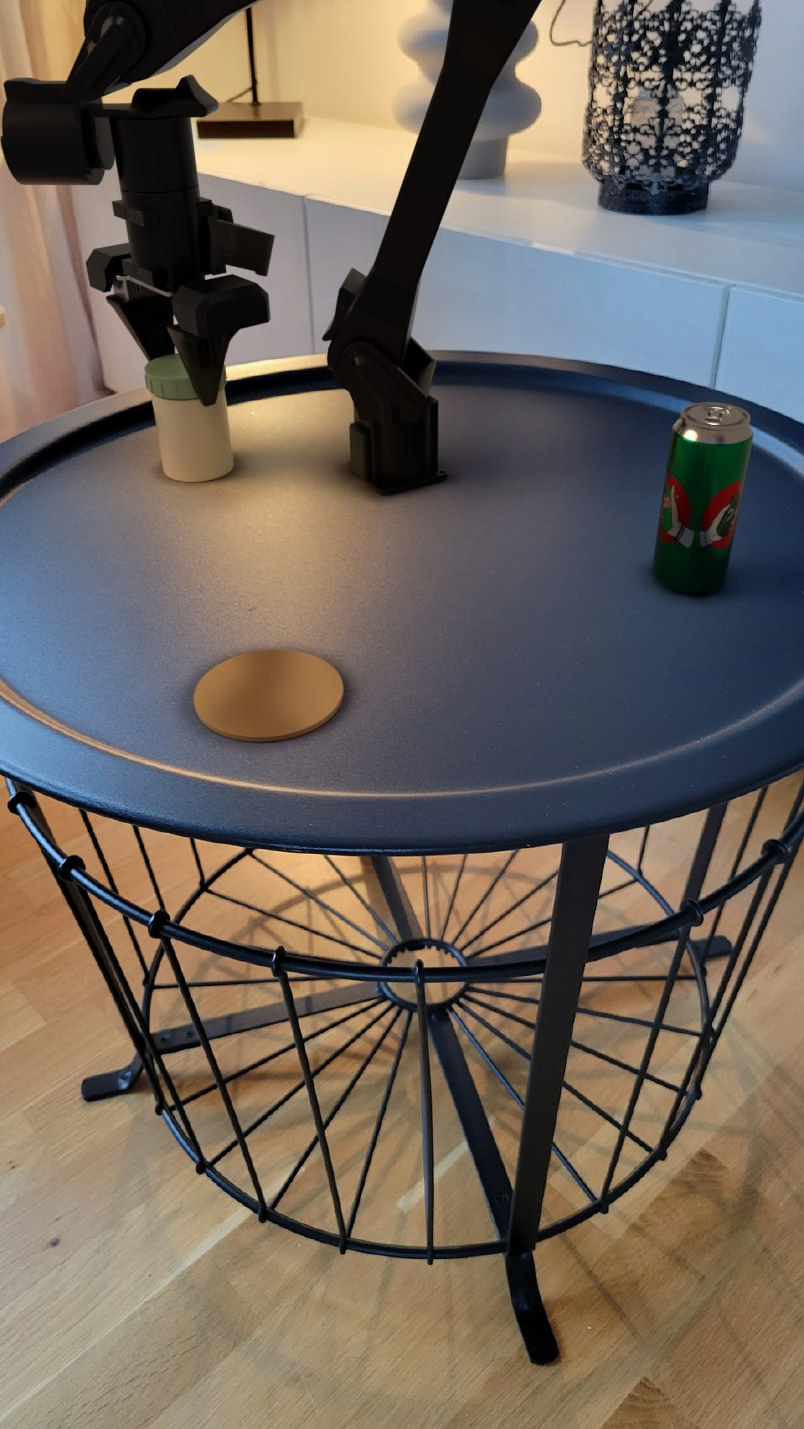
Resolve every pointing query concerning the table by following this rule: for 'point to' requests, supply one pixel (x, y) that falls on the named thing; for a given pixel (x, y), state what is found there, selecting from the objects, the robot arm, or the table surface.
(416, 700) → the table surface
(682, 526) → the soda can
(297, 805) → the table surface
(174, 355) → the lid
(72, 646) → the table surface
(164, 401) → the jar
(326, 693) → the coaster
